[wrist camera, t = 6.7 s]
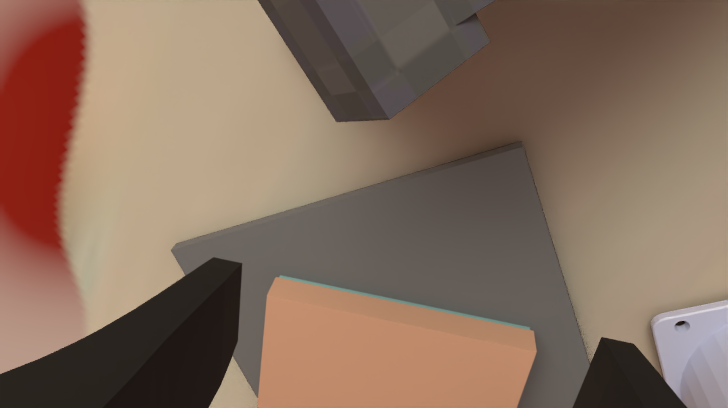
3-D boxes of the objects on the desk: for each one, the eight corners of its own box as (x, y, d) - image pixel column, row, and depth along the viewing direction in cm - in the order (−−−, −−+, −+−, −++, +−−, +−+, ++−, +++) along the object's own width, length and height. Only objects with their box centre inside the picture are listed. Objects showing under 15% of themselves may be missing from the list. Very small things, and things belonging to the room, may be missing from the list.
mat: (521, 141, 21) (522, 146, 21) (612, 436, 26) (614, 446, 26) (176, 243, 25) (170, 250, 25) (314, 481, 31) (311, 490, 30)
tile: (267, 294, 23) (254, 444, 27) (536, 352, 23) (484, 496, 26) (277, 272, 25) (264, 417, 28) (533, 326, 24) (484, 467, 28)
